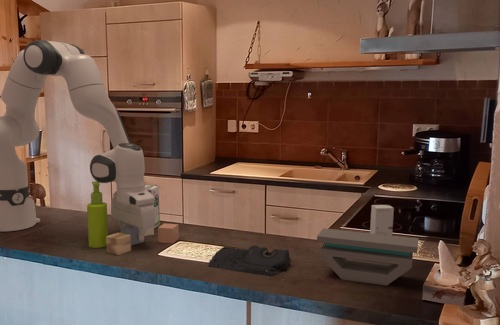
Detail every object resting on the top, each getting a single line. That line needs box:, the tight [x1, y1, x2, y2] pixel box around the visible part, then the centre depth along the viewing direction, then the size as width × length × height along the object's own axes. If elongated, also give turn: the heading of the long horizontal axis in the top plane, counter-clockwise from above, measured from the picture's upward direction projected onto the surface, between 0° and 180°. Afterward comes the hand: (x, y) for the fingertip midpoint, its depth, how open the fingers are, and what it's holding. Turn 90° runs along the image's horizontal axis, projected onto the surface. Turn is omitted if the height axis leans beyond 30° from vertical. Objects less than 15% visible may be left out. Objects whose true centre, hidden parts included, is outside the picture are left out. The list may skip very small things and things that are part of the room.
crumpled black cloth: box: [207, 245, 291, 277], centre depth 141 cm, size 15×22×5 cm
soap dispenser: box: [86, 180, 109, 249], centre depth 155 cm, size 6×7×20 cm
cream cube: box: [144, 226, 155, 237], centre depth 168 cm, size 5×5×5 cm
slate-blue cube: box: [120, 224, 145, 246], centre depth 159 cm, size 5×5×5 cm
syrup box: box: [145, 184, 161, 229], centre depth 176 cm, size 6×6×14 cm
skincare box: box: [369, 204, 395, 236], centre depth 159 cm, size 6×4×12 cm
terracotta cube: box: [157, 222, 180, 244], centre depth 161 cm, size 5×5×5 cm
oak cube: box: [106, 232, 132, 256], centre depth 150 cm, size 5×5×5 cm
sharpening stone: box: [316, 227, 419, 286], centre depth 131 cm, size 25×8×11 cm, turn 70°
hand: (132, 237), depth 159 cm, fingers open, 8 cm apart
